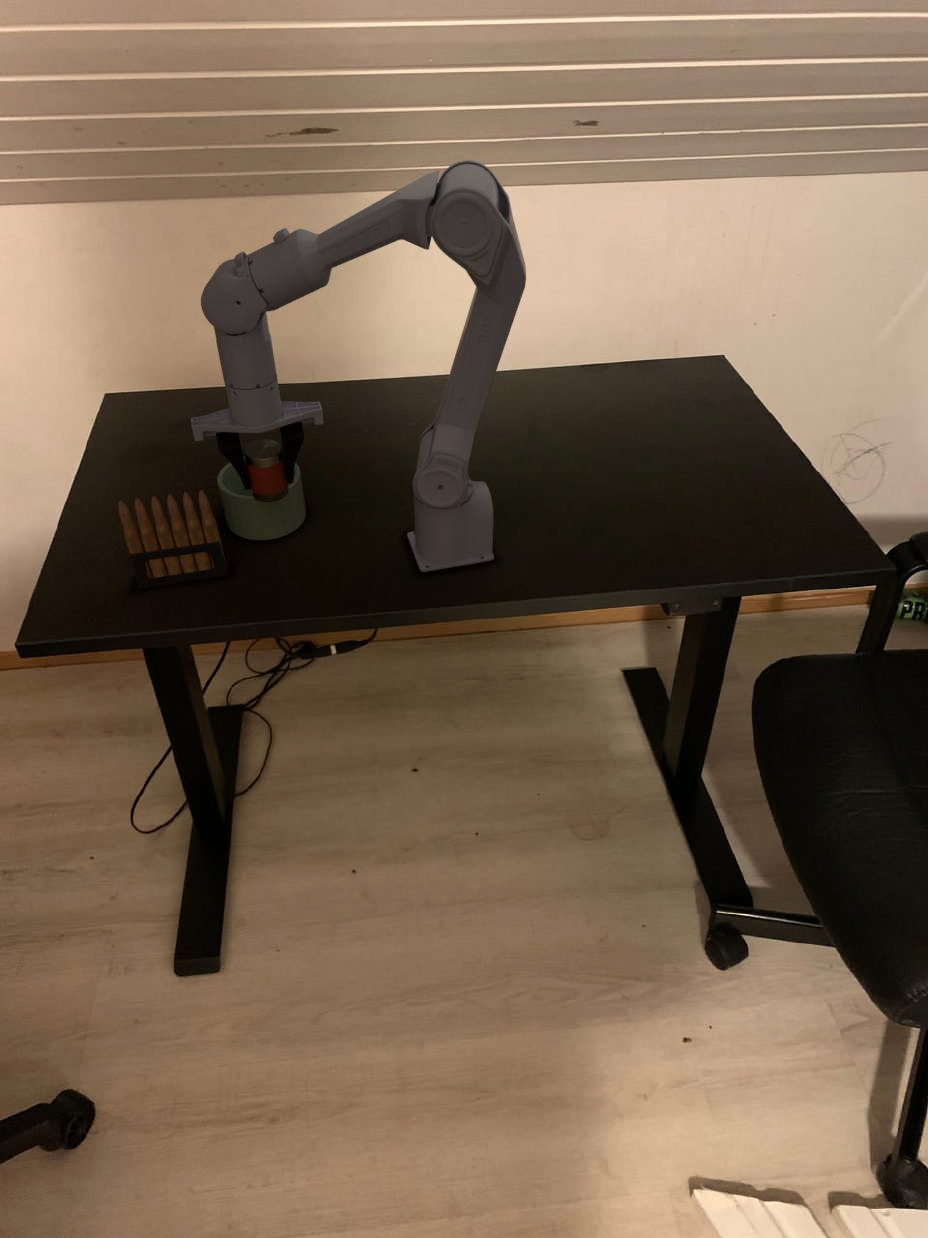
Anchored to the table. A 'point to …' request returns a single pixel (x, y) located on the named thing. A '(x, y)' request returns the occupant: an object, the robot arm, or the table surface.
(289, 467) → the robot arm
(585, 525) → the table surface
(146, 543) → the ammunition clip
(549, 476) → the table surface
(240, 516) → the cup
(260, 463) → the tin can
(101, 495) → the table surface
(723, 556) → the table surface
